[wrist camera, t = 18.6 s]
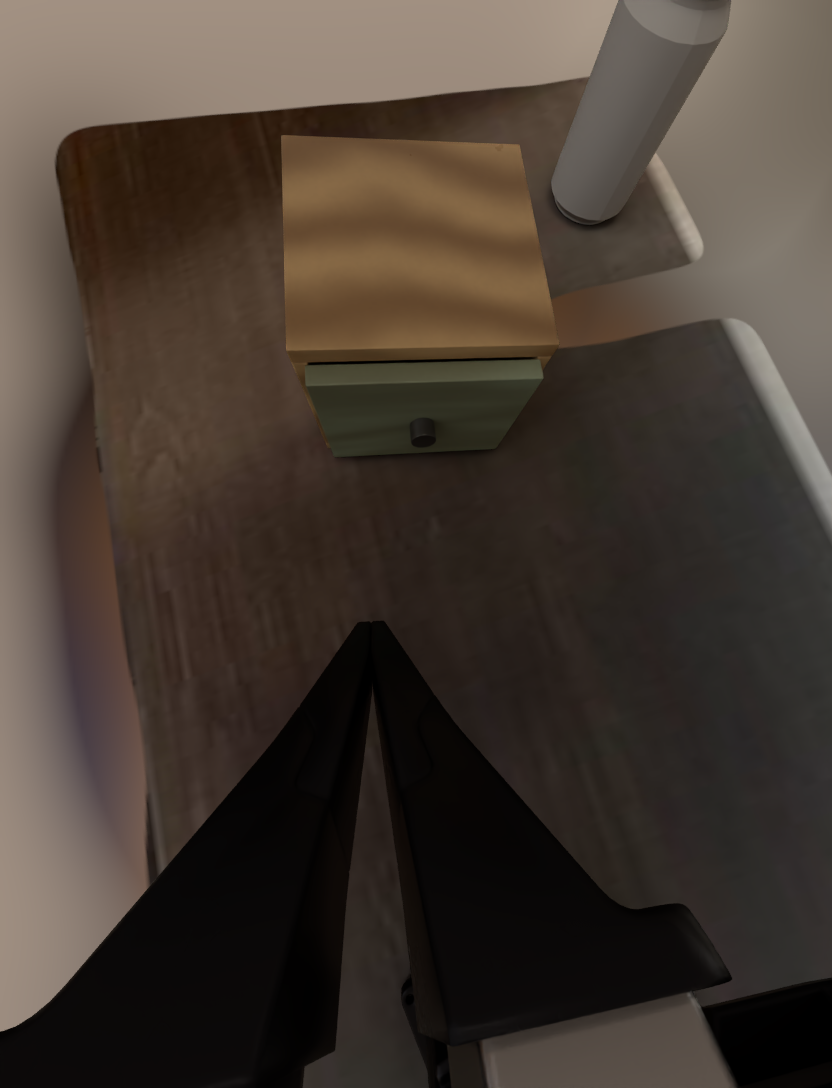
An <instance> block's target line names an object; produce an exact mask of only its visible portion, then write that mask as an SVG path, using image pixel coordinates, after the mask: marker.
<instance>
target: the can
mask: <svg viewBox="0 0 832 1088" xmlns="http://www.w3.org/2000/svg"><path fill="white" fill-rule="evenodd" d="M730 5H731V0H619V1H618V3H617V6H616V9H615V12H614V14H613V17H612V19H611V22H610V25H609V27H608V30H607V33H606V35H605V38H604V41H603V43H602V46H601V49H600V51H599V54H598V57H597V59H596V62H595V65H594V67H593V70H592V73H591V75H590V78H589V81H588V83H587V86H586V88H585V91H584V94H583V96H582V99H581V102H580V104H579V107H578V110H577V112H576V115H575V118H574V120H573V123H572V126H571V128H570V131H569V134H568V136H567V139H566V142H565V144H564V147H563V150H562V152H561V155H560V158H559V160H558V163H557V166H556V168H555V171H554V174H553V177H552V180H551V185H552V192H553V194H554V197H555V203H556V205H557V207H558V209H559V210H560V211H561V212H562V213H563V214H564V216H566V217H567V218H569V219H570V220H572V221H574V222H577V223H580V224H587V225H593V224H598V223H601V222H602V221H604V220H607V219H609V218H611V217H613V216H615V215H617V214H618V213H619V212H620V211H621V209H622V208H623V207H624V205H625V203H626V202H627V200H628V198H629V197H630V195H631V193H632V191H633V190H634V188H635V186H636V185H637V183H638V181H639V179H640V178H641V176H642V174H643V173H644V171H645V169H646V167H647V166H648V164H649V162H650V161H651V159H652V157H653V155H654V154H655V152H656V150H657V149H658V147H659V145H660V143H661V142H662V140H663V138H664V137H665V135H666V133H667V131H668V130H669V128H670V126H671V125H672V123H673V121H674V119H675V118H676V116H677V114H678V113H679V111H680V109H681V108H682V106H683V104H684V102H685V101H686V99H687V97H688V95H689V94H690V92H691V90H692V89H693V87H694V85H695V84H696V82H697V80H698V78H699V77H700V75H701V73H702V71H703V70H704V68H705V66H706V65H707V63H708V61H709V60H710V58H711V56H712V54H713V53H714V51H715V49H716V48H717V46H718V44H719V42H720V41H721V39H722V37H723V36H724V34H725V32H726V30H727V27H728V21H729V14H730Z"/></svg>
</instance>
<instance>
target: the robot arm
mask: <svg viewBox="0 0 832 1088" xmlns="http://www.w3.org/2000/svg"><path fill="white" fill-rule="evenodd" d="M372 682H373V694H374V702H375V709H376V716H377V723H378V730H379V737H380V744H381V751H382V758H383V765H384V772H385V779H386V786H387V793H388V800H389V807H390V815H391V822H392V829H393V836H394V843H395V850H396V857H397V863H398V871H399V878H400V886H401V894H402V902H403V910H404V918H405V927H406V935H407V944H408V952H409V960H410V969H411V977H412V978H411V979H409V980H408V981H406V982H405V983H404V984H403V987H402V990H401V1001H402V1006H403V1008H404V1011H405V1013H406V1016H407V1019H408V1021H409V1024H410V1026H411V1029H412V1031H413V1034H414V1037H415V1039H416V1042H417V1044H418V1047H419V1050H420V1052H421V1055H422V1057H423V1060H424V1063H425V1065H426V1068H427V1070H428V1083H429V1088H832V978H827V979H821V980H815V981H809V982H804V983H800V984H795V985H791V986H787V987H783V988H779V989H775V990H771V991H766V992H762V993H758V994H754V995H750V996H746V997H741V998H737V999H733V1000H729V1001H725V1002H721V1003H716V1004H712V1005H708V1006H704V1007H700V1005H699V1003H698V1001H697V999H696V997H695V995H694V993H693V991H696V990H701V989H705V988H709V987H713V986H716V985H720V984H723V983H726V982H729V981H731V980H732V977H731V975H730V973H729V971H728V969H727V968H726V966H725V964H724V962H723V961H722V959H721V957H720V956H719V954H718V953H717V951H716V949H715V947H714V945H713V944H712V942H711V941H710V939H709V938H708V936H707V934H706V933H705V931H704V930H703V929H702V927H701V926H700V924H699V922H698V921H697V920H696V918H695V917H694V915H693V914H692V913H691V911H690V910H689V909H688V908H687V907H686V906H685V905H683V904H679V903H674V904H665V905H659V906H653V907H648V908H643V909H629V908H627V907H624V906H621V905H619V904H618V903H617V902H615V901H614V900H612V899H611V898H609V897H608V896H607V895H606V894H605V893H604V892H603V891H602V890H601V889H600V888H599V887H598V885H597V884H596V883H595V882H594V881H593V880H592V879H591V878H590V876H589V875H588V874H587V873H586V872H585V871H584V870H583V868H582V867H581V866H580V865H579V864H578V863H577V862H576V860H575V859H574V858H573V857H572V856H571V855H570V854H569V853H568V851H567V850H566V849H565V848H564V847H563V846H562V845H561V843H560V842H559V841H558V840H557V839H556V838H555V837H554V835H553V834H552V833H551V832H550V831H549V830H548V829H547V828H546V826H545V825H544V824H543V823H542V822H541V821H540V820H539V818H538V817H537V816H536V815H535V814H534V813H533V812H532V810H531V809H530V808H529V807H528V806H527V805H526V804H525V803H524V801H523V800H522V799H521V798H520V797H519V796H518V795H517V793H516V792H515V791H514V790H513V789H512V788H511V787H510V785H509V784H508V783H507V782H506V781H505V780H504V779H503V778H502V776H501V775H500V774H499V773H498V772H497V771H496V770H495V768H494V767H493V766H492V765H491V764H490V763H489V762H488V760H487V759H486V758H485V757H484V756H483V755H482V754H481V753H480V751H479V750H478V749H477V748H476V747H475V746H474V745H473V743H472V742H471V741H470V740H469V739H468V738H467V737H466V735H465V734H464V733H463V732H462V731H461V729H460V728H459V727H458V726H457V725H456V723H455V722H454V721H453V720H452V718H451V717H450V716H449V714H448V713H447V711H446V710H445V709H444V707H443V706H442V705H441V703H440V702H439V700H438V699H437V697H436V696H435V695H434V693H433V692H432V690H431V689H430V687H429V686H428V685H427V683H426V682H425V680H424V679H423V677H422V676H421V674H420V673H419V671H418V670H417V668H416V667H415V665H414V664H413V662H412V661H411V660H410V658H409V657H408V655H407V654H406V652H405V651H404V649H403V648H402V646H401V645H400V643H399V642H398V640H397V639H396V637H395V636H394V635H393V633H392V632H391V630H390V629H389V627H388V626H387V624H386V623H385V622H384V621H373V622H372V623H371V622H369V621H367V622H358V623H357V624H356V626H355V627H354V629H353V630H352V631H351V633H350V634H349V636H348V637H347V639H346V640H345V641H344V643H343V644H342V646H341V647H340V649H339V650H338V652H337V653H336V654H335V656H334V657H333V659H332V660H331V662H330V663H329V664H328V666H327V667H326V669H325V670H324V672H323V673H322V674H321V676H320V677H319V679H318V680H317V682H316V683H315V684H314V686H313V687H312V689H311V690H310V692H309V693H308V694H307V696H306V697H305V699H304V700H303V702H302V703H301V704H300V707H298V708H297V710H296V711H295V712H294V714H293V715H292V717H291V718H290V720H289V721H288V722H287V724H286V725H285V726H284V728H283V729H282V730H281V732H280V733H279V734H278V736H277V737H276V739H275V740H274V741H273V742H272V743H271V745H270V746H269V747H268V748H267V749H266V751H265V752H264V753H263V754H262V756H261V757H260V758H259V759H258V760H257V762H256V763H255V764H254V765H253V766H252V767H251V769H250V770H249V771H248V772H247V773H246V774H245V776H244V777H243V778H242V779H241V780H240V781H239V783H238V784H237V785H236V786H235V787H234V788H233V790H232V791H231V792H230V793H229V794H228V795H227V797H226V798H225V799H224V800H223V801H222V803H221V804H220V805H219V806H218V807H217V808H216V810H215V811H214V812H213V813H212V814H211V815H210V817H209V818H208V819H207V820H206V821H205V822H204V824H203V825H202V826H201V827H200V828H199V829H198V831H197V832H196V833H195V834H194V835H193V836H192V838H191V839H190V840H189V841H188V842H187V843H186V845H185V846H184V847H183V848H182V849H181V850H180V852H179V853H178V854H177V855H176V856H175V857H174V859H173V860H172V861H171V862H170V863H169V864H168V866H167V867H166V868H165V869H164V870H163V872H162V873H161V874H160V875H159V876H158V877H157V879H156V880H155V881H154V882H153V883H152V884H151V886H150V887H149V888H148V889H147V890H146V891H145V893H144V894H143V895H142V896H141V897H140V899H139V900H138V901H137V902H136V903H135V904H134V905H133V907H132V908H131V909H130V910H129V911H128V913H127V914H126V915H125V916H124V917H123V918H122V920H121V921H120V922H119V923H118V924H117V925H116V927H115V928H114V929H113V930H112V931H111V932H110V934H109V935H108V936H107V937H106V938H105V939H104V941H103V942H102V943H101V944H100V945H99V946H98V948H97V949H96V950H95V951H94V952H93V953H92V955H91V956H90V957H89V958H88V959H87V960H86V962H85V963H84V964H83V965H82V966H81V968H80V969H79V970H78V971H77V972H76V973H75V975H74V976H73V977H72V978H71V979H70V980H69V982H68V983H67V984H66V985H65V986H64V987H63V988H62V989H61V990H60V992H58V993H57V995H56V996H55V997H54V998H53V999H52V1000H51V1001H50V1002H49V1003H47V1004H46V1005H45V1006H44V1007H43V1008H41V1009H40V1010H39V1011H38V1012H37V1013H36V1014H34V1015H33V1016H32V1017H30V1018H28V1019H27V1020H25V1021H24V1022H22V1023H21V1024H19V1025H17V1026H16V1027H13V1028H10V1029H8V1030H5V1031H1V1032H0V1088H303V1078H304V1068H305V1066H306V1065H308V1064H310V1063H312V1062H314V1061H316V1060H318V1059H320V1058H322V1057H324V1056H326V1055H328V1054H329V1053H331V1052H333V1051H335V1045H336V1033H337V1019H338V1005H339V992H340V978H341V965H342V951H343V938H344V924H345V911H346V900H347V890H348V881H349V871H350V865H351V857H352V849H353V841H354V833H355V825H356V817H357V809H358V801H359V793H360V785H361V777H362V769H363V760H364V752H365V744H366V736H367V728H368V720H369V712H370V704H371V696H372ZM409 994H413V995H412V996H407V995H409Z"/></svg>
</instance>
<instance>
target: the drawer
mask: <svg viewBox="0 0 832 1088" xmlns="http://www.w3.org/2000/svg"><path fill="white" fill-rule="evenodd" d="M513 359H514V357H504V358H464V359H424V360H384V361H344V362H324V365H306V366H305V385H306V388H307V390H308V393H309V395H310V398H311V400H312V403H313V405H314V408H315V410H316V413H317V415H318V418H319V420H320V423H321V425H322V428H323V430H324V433H325V435H326V438H327V440H328V443H329V445H330V447H331V450H332V452H333V455H334V457H348V456H367V455H386V454H406V453H425V452H444V451H463V450H482V449H496V448H497V446H498V445H499V443H500V442H501V440H502V439H503V437H504V436H505V434H506V433H507V432H508V430H509V429H510V427H511V426H512V424H513V423H514V421H515V420H516V418H517V417H518V415H519V414H520V412H521V411H522V409H523V408H524V406H525V405H526V403H527V402H528V400H529V399H530V398H531V396H532V395H533V393H534V392H535V390H536V389H537V387H538V386H539V384H540V383H541V381H542V380H543V372H542V367H541V361H540V360H539V359H531V360H513Z"/></svg>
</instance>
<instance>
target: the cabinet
mask: <svg viewBox="0 0 832 1088" xmlns="http://www.w3.org/2000/svg"><path fill="white" fill-rule="evenodd" d="M281 143H282V187H283V231H284V274H285V318H286V351H287V353H288V356H289V358H290V360H291V362H292V364H293V367H294V369H295V372H296V374H297V376H298V379H299V381H300V383H301V386H302V388H303V390H304V393H305V395H306V398H307V400H308V402H309V405H310V407H311V409H312V412H313V414H314V417H315V419H316V421H317V424H318V426H319V428H320V431H321V433H322V435H323V438H324V440H325V442H326V445H327V447H328V448H331V447H330V445H329V443H328V440H327V438H326V435H325V433H324V430H323V428H322V425H321V423H320V420H319V418H318V415H317V413H316V410H315V408H314V405H313V403H312V400H311V398H310V395H309V393H308V390H307V388H306V385H305V366H306V365H324V362H344V361H384V360H424V359H464V358H504V357H514V359H513V360H531V359H539V360H540V361H541V367H542V370H543V369H544V367H545V366H546V364H547V363H548V361H549V360H550V358H551V356H553V354H554V353H555V351H556V350H557V348H558V346H559V345H560V344H559V339H558V334H557V329H556V324H555V319H554V314H553V309H552V304H551V299H550V294H549V289H548V284H547V279H546V274H545V269H544V264H543V259H542V254H541V249H540V244H539V239H538V234H537V229H536V225H535V220H534V215H533V210H532V205H531V200H530V195H529V190H528V185H527V180H526V175H525V170H524V165H523V160H522V155H521V150H520V145H515V144H490V143H464V142H439V141H413V140H388V139H363V138H337V137H312V136H287V135H282V136H281Z"/></svg>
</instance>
